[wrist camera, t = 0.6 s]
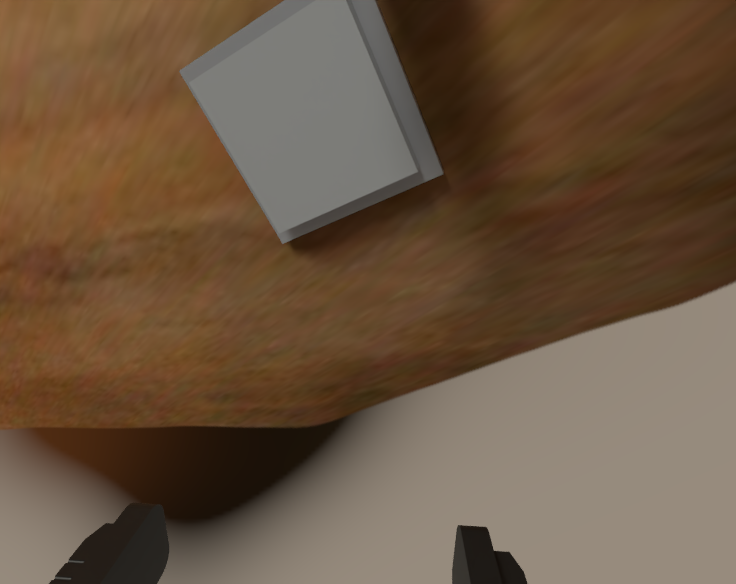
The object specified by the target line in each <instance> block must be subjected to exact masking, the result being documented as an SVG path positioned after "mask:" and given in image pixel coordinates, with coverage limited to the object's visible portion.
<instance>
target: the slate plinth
mask: <svg viewBox="0 0 736 584" xmlns="http://www.w3.org/2000/svg"><path fill="white" fill-rule="evenodd" d="M179 72H180V74H181V75H182V77H183V79H184V80H185V82H186V84H187V85H188V87H189V89H190V90H191V92H192V94H193V95H194V97H195V99H196V100H197V102H198V104H199V105H200V107H201V109H202V110H203V112H204V114H205V115H206V117H207V119H208V120H209V122H210V124H211V125H212V127H213V129H214V130H215V132H216V134H217V135H218V137H219V139H220V140H221V142H222V144H223V145H224V147H225V149H226V150H227V152H228V154H229V155H230V157H231V159H232V160H233V162H234V164H235V165H236V167H237V169H238V170H239V172H240V174H241V175H242V177H243V179H244V180H245V182H246V183H247V185H248V187H249V188H250V190H251V192H252V193H253V195H254V197H255V198H256V200H257V202H258V203H259V205H260V207H261V208H262V210H263V212H264V213H265V215H266V217H267V218H268V220H269V222H270V223H271V225H272V227H273V228H274V230H275V232H276V233H277V235H278V237H279V238H280V240H281V242H282V243H286V242H288V241H290V240H293V239H295V238H297V237H300V236H302V235H304V234H306V233H309V232H311V231H313V230H316V229H318V228H320V227H323V226H325V225H327V224H330V223H332V222H334V221H337V220H339V219H341V218H343V217H346V216H348V215H350V214H353V213H355V212H357V211H360V210H362V209H364V208H367V207H369V206H371V205H373V204H376V203H378V202H380V201H383V200H385V199H387V198H390V197H392V196H394V195H397V194H399V193H401V192H403V191H406V190H408V189H410V188H413V187H415V186H417V185H420V184H422V183H424V182H427V181H429V180H431V179H434V178H436V177H438V176H440V175H443V174H444V170H443V167H442V164H441V162H440V159H439V157H438V154H437V152H436V149H435V147H434V144H433V142H432V139H431V137H430V134H429V131H428V129H427V126H426V124H425V121H424V119H423V116H422V114H421V111H420V109H419V106H418V103H417V101H416V98H415V96H414V93H413V91H412V88H411V86H410V83H409V81H408V78H407V76H406V73H405V70H404V68H403V65H402V63H401V60H400V58H399V55H398V53H397V50H396V48H395V45H394V43H393V40H392V37H391V35H390V32H389V30H388V27H387V25H386V22H385V20H384V17H383V15H382V12H381V9H380V7H379V4H378V2H377V0H284V1H283V2H281V3H280V4H278V5H277V6H275V7H274V8H272V9H271V10H269V11H268V12H266V13H265V14H263V15H262V16H260V17H259V18H257V19H256V20H254V21H253V22H251V23H250V24H248V25H247V26H245V27H244V28H242V29H241V30H240V31H238V32H237V33H235V34H234V35H232V36H231V37H229V38H228V39H226V40H225V41H223V42H222V43H220V44H219V45H217V46H216V47H214V48H213V49H211V50H210V51H208V52H207V53H205V54H204V55H202V56H201V57H199V58H198V59H196V60H195V61H193V62H192V63H190V64H189V65H187V66H186V67H184V68H183V69H181V70H180V71H179Z"/></svg>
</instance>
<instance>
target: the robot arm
mask: <svg viewBox="0 0 736 584" xmlns="http://www.w3.org/2000/svg"><path fill="white" fill-rule="evenodd" d="M168 554H169V542H168V536H167V530H166V523H165V518H164V511H163V507H162V506H161V505H159V504H142V503H131V504H130V505H128V506H127V507H126V508H125V510H124V511H123V512H122V513H121V515H120V516H119V517H118V519H117V520H116V521H115V523H114V524H109V523H108V524H107V523H106V524H105V525H103V526H102V527H101V528H99V529H98V530H97V531H95V532H94V533H93V534H91V535H90V536H89V537H88V538H86V539H85V540H84V541H83V542H82V544H81V545H80V546H79V547H78V549H77V550H76V551H75V552H74V553H73V555H72V556H71V557H70V559H69V561H68V563H66V564H65V565H64V566H63V567H62V568H61V569H60V571H59V572H58V573H57V575H56V576H55V579H54V580H52V581H51V582H50V583H49V584H157V583H158V581H159V579H160V577H161V576H162V574H163V572H164V569H165V567H166V564H167V560H168ZM452 584H527V581H526V578H525V575H524V572H523V570H522V569H521V568H520V566H519V565H518V563H517V562H516V561H515V559H514V558H513V557H512V555H511V554H510V552H500V551H494V550H493V546H492V542H491V539H490V535H489V532H488V529H487V528H486V527H477V526H462V525H458V527H457V532H456V541H455V551H454V559H453V569H452Z"/></svg>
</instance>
